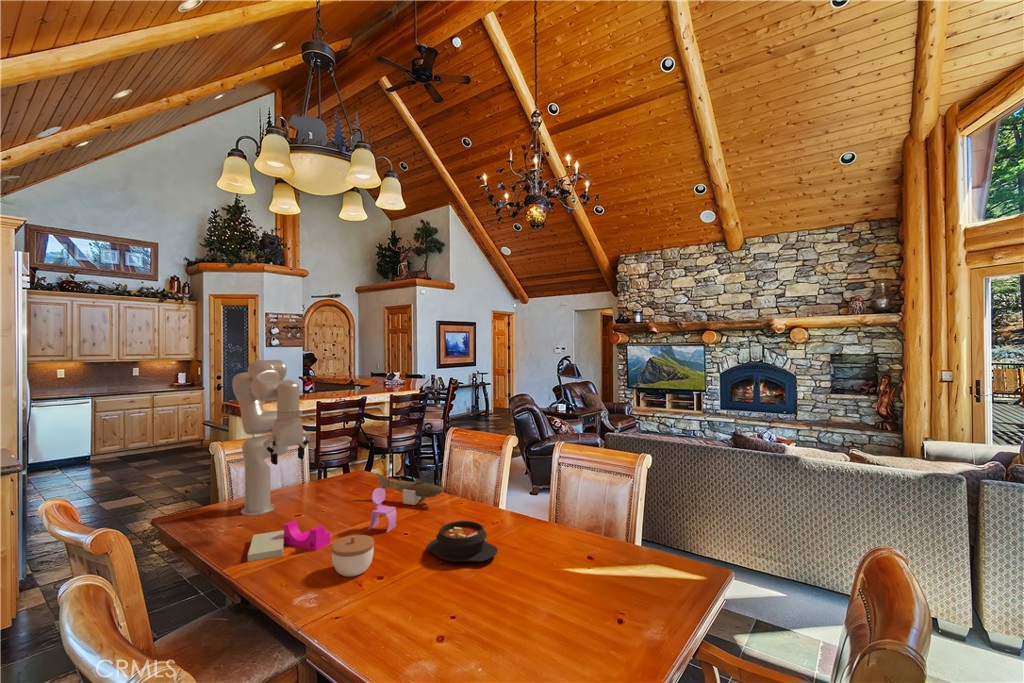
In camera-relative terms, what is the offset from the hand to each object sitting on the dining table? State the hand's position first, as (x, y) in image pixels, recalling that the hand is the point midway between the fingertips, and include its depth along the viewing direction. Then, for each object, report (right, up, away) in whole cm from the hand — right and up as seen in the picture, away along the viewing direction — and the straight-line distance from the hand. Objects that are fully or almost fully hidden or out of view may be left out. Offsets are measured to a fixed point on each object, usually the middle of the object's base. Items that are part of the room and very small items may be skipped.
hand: (287, 461), depth 170 cm
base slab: (-1, -28, -13) cm, 31 cm away
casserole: (+67, -27, -17) cm, 74 cm away
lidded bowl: (+35, -27, -29) cm, 52 cm away
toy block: (+11, -28, -9) cm, 31 cm away
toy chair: (+34, -28, +5) cm, 44 cm away
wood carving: (+37, -28, +35) cm, 58 cm away
